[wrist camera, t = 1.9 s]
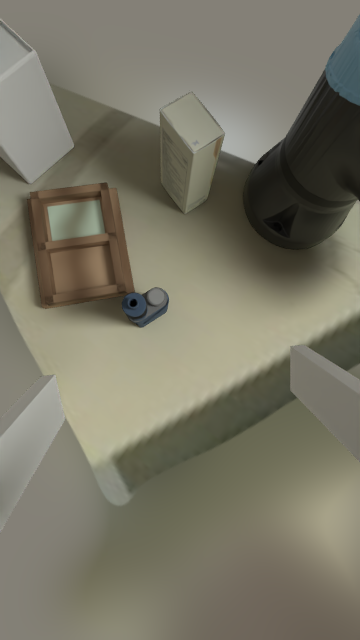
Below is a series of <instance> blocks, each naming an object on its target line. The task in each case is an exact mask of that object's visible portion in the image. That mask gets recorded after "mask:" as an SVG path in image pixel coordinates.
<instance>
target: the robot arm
mask: <svg viewBox="0 0 360 640" xmlns="http://www.w3.org/2000/svg"><path fill="white" fill-rule="evenodd" d="M243 199H244V207H245V211H246V214H247V216H248V219H249V221H250V222H251V224H252V226H253V227H254V228H255V229H256V231H257V232H258V233H259V234H260V235H261V236H262V237H264V238H265V239H266V240H268V241H270V242H271V243H273V244H275V245H278V246H280V247H284V248H289V249H305V248H309V247H312V246H315V245H317V244H319V243H321V242H322V241H324V240H325V239H327V238H328V237H330V236H331V235H332V234H334V233H335V232H336V231H337V230H338V229H339V228H340V226H341V225H342V224H343V222H344V220H345V218H346V217H347V215H348V213H349V211H350V210H351V209H352V207H353V206H354V204H355V202H356V201H357V200H359V201H360V15H359V16H358V18H357V19H356V21H355V22H354V24H353V26H352V27H351V29H350V30H349V32H348V33H347V35H346V36H345V38H344V40H343V41H342V43H341V44H340V45H339V46H338V47H337V48H336V49H335V50H334V51H333V53H332V55H331V56H330V58H329V60H328V62H327V65H326V68H325V70H324V72H323V74H322V75H321V77H320V79H319V80H318V82H317V84H316V86H315V87H314V89H313V91H312V92H311V94H310V96H309V97H308V99H307V101H306V103H305V104H304V106H303V108H302V110H301V111H300V113H299V115H298V116H297V118H296V120H295V122H294V124H293V125H292V127H291V128H290V130H289V132H288V134H287V135H286V137H285V138H284V139H283V140H281V141H280V142H279V143H278V144H277V145H275V146H274V147H273V148H272V149H270V150H269V151H268V152H267V153H266V154H264V155H263V156H262V157H261V158H260V159H259V160H258V162H257V163H256V164H255V166H254V167H253V169H252V171H251V173H250V175H249V177H248V179H247V181H246V184H245V188H244V195H243ZM290 358H291V391H292V392H293V393H294V394H295V396H296V397H297V398H298V399H299V400H301V402H302V403H303V404H304V405H305V406H306V407H307V408H308V409H309V410H310V411H311V412H312V413H313V414H314V415H315V416H316V417H317V418H318V419H319V420H320V421H321V422H322V423H323V424H324V426H325V427H326V428H327V429H328V430H329V431H330V432H331V433H332V434H333V435H334V436H335V437H336V438H337V439H338V440H339V441H340V442H341V443H342V444H343V445H344V446H345V447H346V448H347V449H348V450H349V451H350V452H351V453H352V454H353V455H354V457H355V458H356V459H357V460H358V461H359V462H360V380H359V379H358V378H356V377H355V376H353V375H351V374H350V373H348V372H347V371H345V370H343V369H342V368H340V367H339V366H337V365H335V364H334V363H332V362H331V361H329V360H327V359H326V358H324V357H323V356H321V355H319V354H318V353H316V352H314V351H313V350H311V349H310V348H308V347H306V346H305V345H297V346H290ZM64 420H65V416H64V412H63V407H62V403H61V398H60V394H59V389H58V385H57V380H56V376H55V375H47V376H41V377H40V378H39V379H38V380H37V381H36V382H35V383H34V384H33V385H32V386H31V387H30V388H29V389H28V390H27V391H26V392H25V393H24V394H23V395H22V396H21V397H20V398H19V399H18V400H17V401H16V402H15V403H14V404H13V405H12V406H11V407H10V408H9V409H8V410H7V411H6V412H5V414H4V415H2V417H1V418H0V532H1V530H2V529H3V527H4V525H5V523H6V522H7V520H8V518H9V516H10V514H11V513H12V511H13V509H14V507H15V506H16V504H17V502H18V501H19V499H20V497H21V495H22V494H23V492H24V490H25V488H26V487H27V485H28V483H29V481H30V479H31V478H32V476H33V474H34V473H35V471H36V469H37V468H38V466H39V464H40V462H41V461H42V459H43V457H44V455H45V454H46V452H47V450H48V448H49V447H50V445H51V443H52V441H53V440H54V438H55V436H56V434H57V433H58V431H59V429H60V427H61V425H62V424H63V422H64Z"/></svg>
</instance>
